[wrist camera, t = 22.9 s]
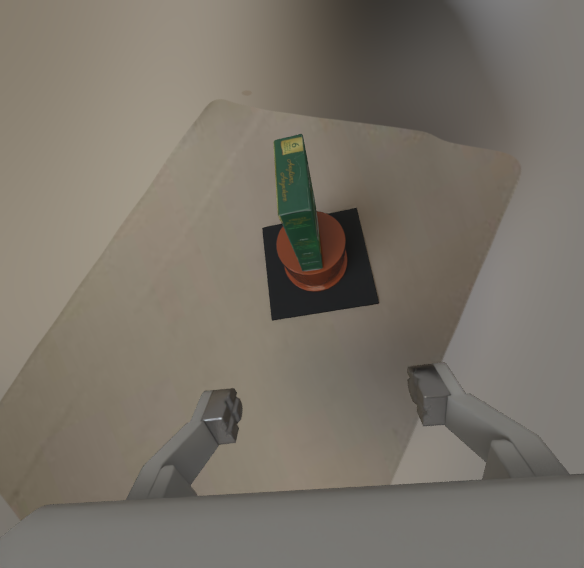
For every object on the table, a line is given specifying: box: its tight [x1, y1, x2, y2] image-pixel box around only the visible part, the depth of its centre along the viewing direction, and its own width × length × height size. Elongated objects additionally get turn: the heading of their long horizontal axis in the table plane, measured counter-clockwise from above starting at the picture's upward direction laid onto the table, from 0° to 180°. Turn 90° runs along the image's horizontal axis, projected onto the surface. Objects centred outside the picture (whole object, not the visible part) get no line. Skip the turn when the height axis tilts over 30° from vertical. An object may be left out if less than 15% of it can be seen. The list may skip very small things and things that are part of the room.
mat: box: [262, 208, 379, 320], centre depth 40 cm, size 16×16×1 cm
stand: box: [277, 211, 347, 292], centre depth 36 cm, size 10×10×8 cm
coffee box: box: [274, 134, 323, 271], centre depth 27 cm, size 8×3×13 cm, turn 7°
